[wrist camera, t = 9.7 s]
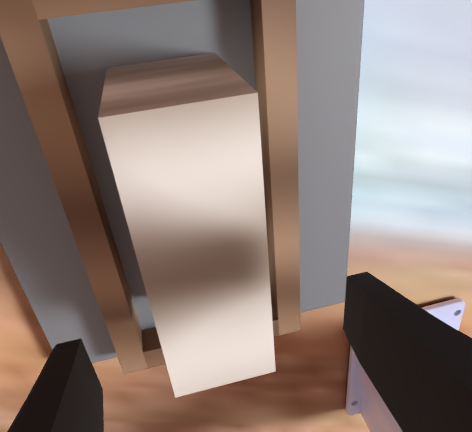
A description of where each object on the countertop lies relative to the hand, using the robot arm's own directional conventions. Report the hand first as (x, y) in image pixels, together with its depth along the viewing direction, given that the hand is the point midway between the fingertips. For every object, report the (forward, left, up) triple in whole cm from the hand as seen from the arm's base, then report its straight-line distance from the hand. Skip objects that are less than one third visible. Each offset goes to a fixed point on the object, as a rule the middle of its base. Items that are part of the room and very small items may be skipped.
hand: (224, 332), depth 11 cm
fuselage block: (0, 0, -8) cm, 8 cm away
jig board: (0, 0, -9) cm, 9 cm away
